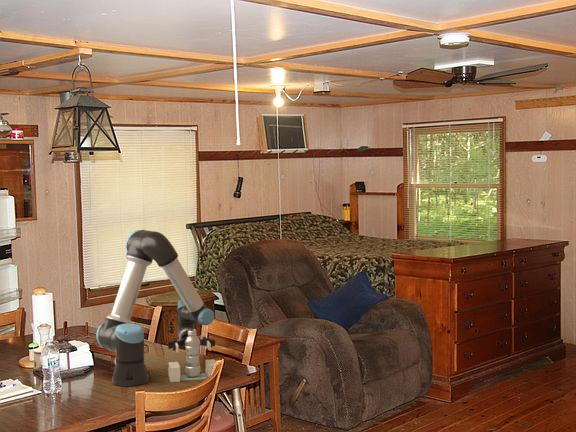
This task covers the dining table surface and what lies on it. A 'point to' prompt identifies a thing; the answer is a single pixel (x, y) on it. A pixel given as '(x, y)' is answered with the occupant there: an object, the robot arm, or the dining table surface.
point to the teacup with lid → (37, 357)
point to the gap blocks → (175, 370)
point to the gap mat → (185, 377)
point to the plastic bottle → (192, 354)
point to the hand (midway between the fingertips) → (193, 348)
